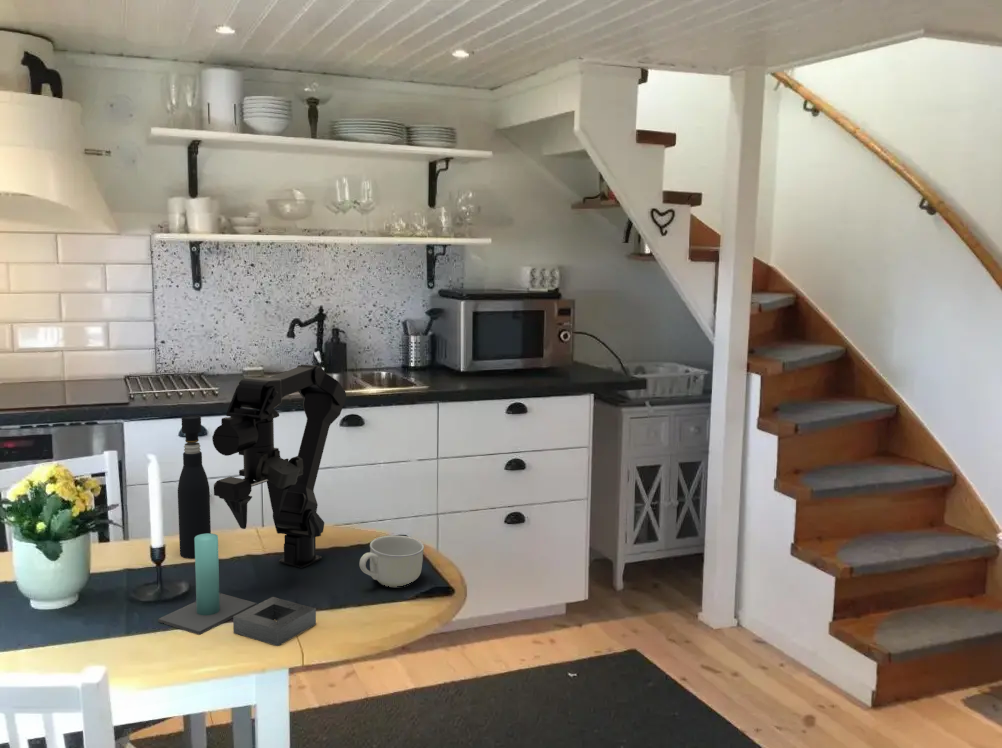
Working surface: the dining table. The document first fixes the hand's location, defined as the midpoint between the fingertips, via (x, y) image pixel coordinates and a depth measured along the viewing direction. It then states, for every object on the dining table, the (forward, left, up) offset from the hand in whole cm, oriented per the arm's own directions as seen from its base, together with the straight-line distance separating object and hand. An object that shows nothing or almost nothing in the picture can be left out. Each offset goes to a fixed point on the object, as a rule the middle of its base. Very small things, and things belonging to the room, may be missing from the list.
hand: (260, 521), depth 178 cm
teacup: (-14, +21, -13) cm, 28 cm away
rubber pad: (+15, +1, -13) cm, 20 cm away
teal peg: (+15, +1, -12) cm, 19 cm away
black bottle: (-6, -24, -13) cm, 28 cm away
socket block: (+13, +15, -13) cm, 24 cm away
